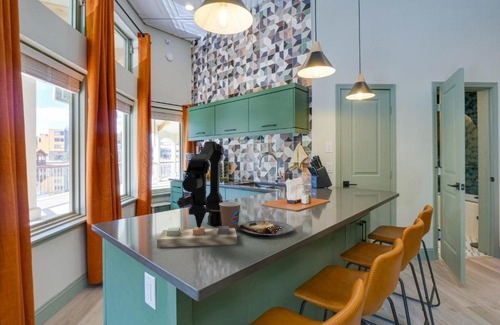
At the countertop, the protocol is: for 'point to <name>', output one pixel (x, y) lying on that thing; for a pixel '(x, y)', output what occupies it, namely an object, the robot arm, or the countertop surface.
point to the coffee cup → (230, 214)
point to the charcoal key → (223, 229)
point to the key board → (197, 238)
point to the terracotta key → (199, 231)
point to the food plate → (265, 227)
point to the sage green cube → (173, 231)
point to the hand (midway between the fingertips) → (198, 227)
